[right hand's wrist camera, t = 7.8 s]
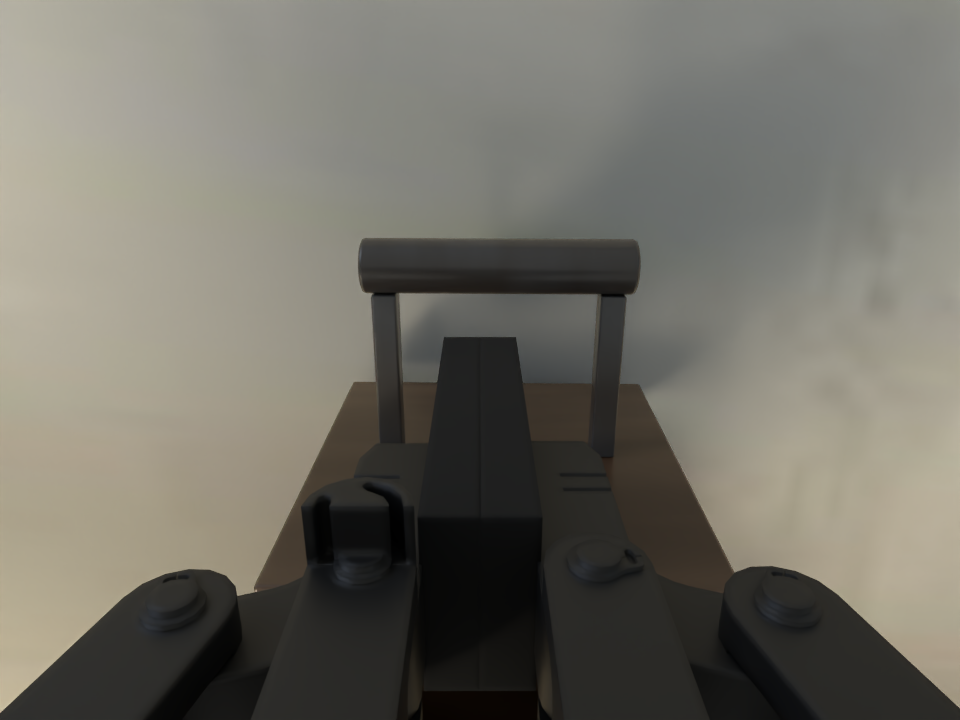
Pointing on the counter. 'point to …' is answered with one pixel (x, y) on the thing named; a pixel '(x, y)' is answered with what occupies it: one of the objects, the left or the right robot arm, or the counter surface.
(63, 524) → the counter surface
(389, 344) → the drawer
